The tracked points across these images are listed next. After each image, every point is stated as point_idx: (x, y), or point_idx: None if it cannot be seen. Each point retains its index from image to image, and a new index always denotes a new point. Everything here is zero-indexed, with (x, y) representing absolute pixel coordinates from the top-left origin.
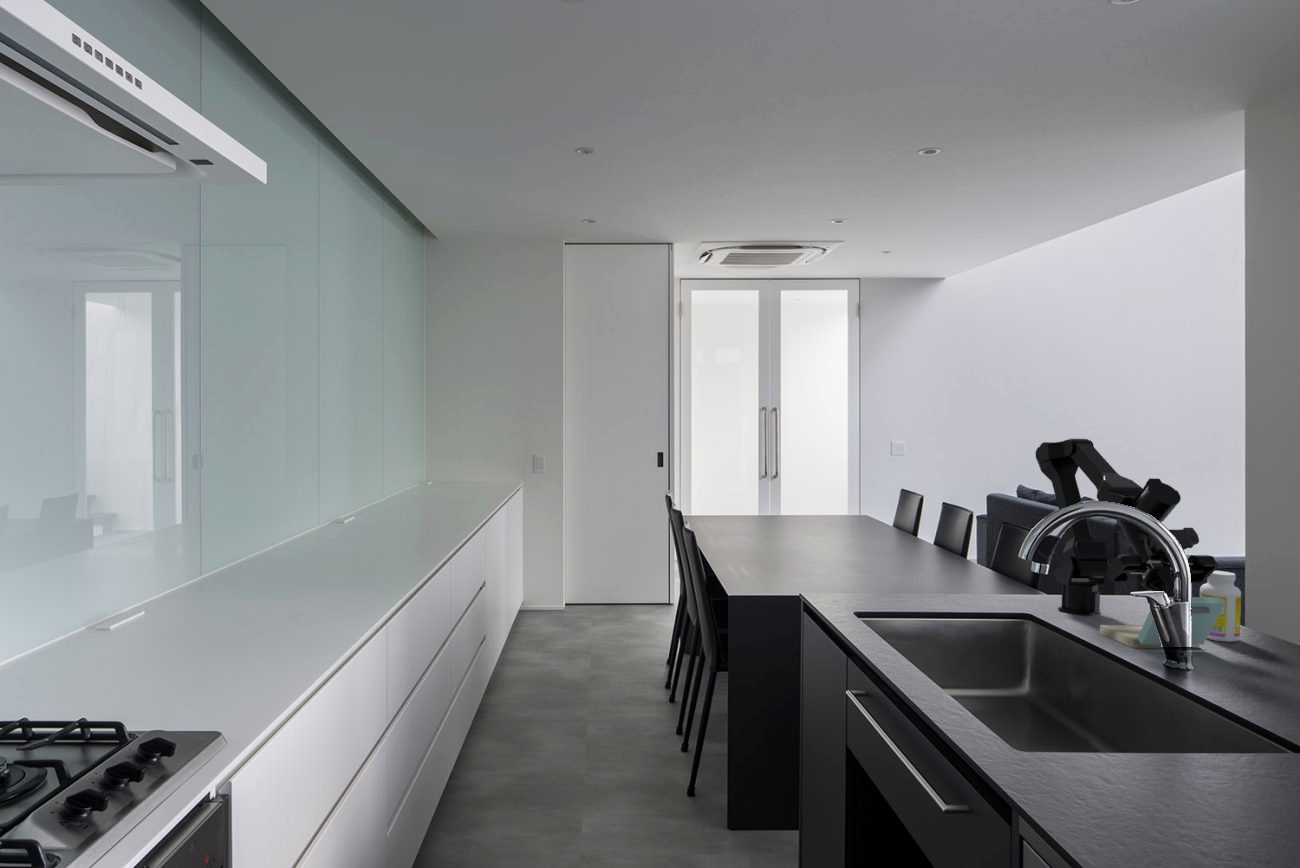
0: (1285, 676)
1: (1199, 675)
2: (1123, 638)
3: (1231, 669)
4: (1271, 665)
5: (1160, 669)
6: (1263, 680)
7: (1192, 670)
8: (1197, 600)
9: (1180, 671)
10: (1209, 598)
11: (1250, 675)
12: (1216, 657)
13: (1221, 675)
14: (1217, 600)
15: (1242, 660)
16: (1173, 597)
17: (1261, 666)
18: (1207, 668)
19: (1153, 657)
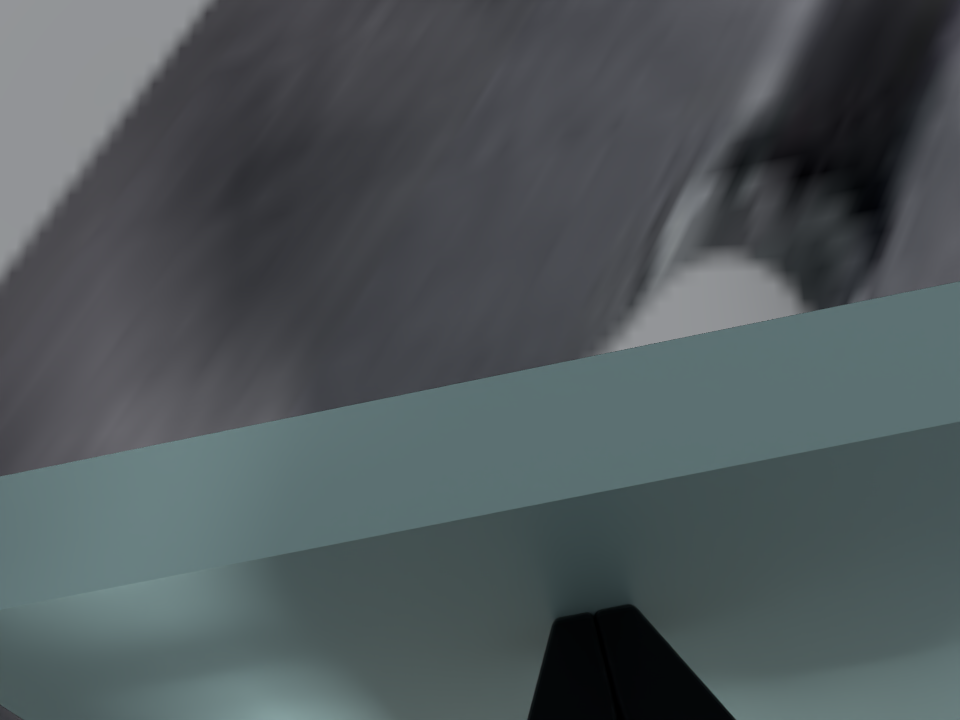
0: (124, 142)
1: (718, 38)
2: None
3: (402, 227)
4: (28, 392)
5: (954, 116)
6: (334, 26)
7: (713, 142)
8: (433, 446)
9: (817, 99)
10: (144, 545)
11: (352, 114)
12: None
13: (559, 71)
14: (28, 526)
15: None
16: (931, 417)
17: (124, 350)
18: (572, 215)
19: None
